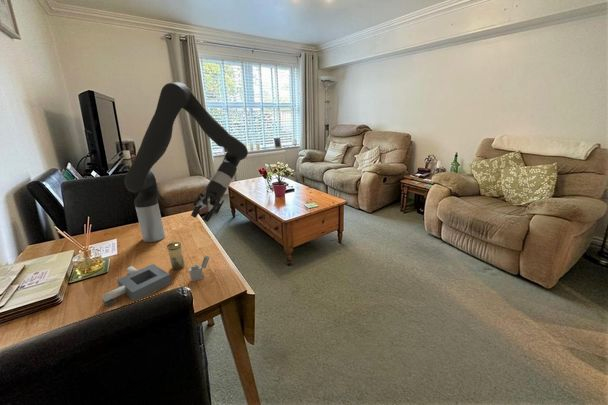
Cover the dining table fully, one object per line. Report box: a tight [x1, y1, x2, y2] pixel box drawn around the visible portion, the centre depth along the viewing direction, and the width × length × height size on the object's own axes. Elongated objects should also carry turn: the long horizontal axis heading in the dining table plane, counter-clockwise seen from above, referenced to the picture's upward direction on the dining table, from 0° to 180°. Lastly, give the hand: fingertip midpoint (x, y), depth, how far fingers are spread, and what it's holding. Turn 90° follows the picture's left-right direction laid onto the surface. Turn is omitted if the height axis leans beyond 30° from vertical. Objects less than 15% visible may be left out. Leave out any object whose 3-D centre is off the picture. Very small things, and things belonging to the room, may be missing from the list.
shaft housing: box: [101, 263, 172, 307], centre depth 91 cm, size 17×18×4 cm
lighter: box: [188, 255, 210, 282], centre depth 95 cm, size 7×2×8 cm, turn 115°
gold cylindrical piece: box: [166, 241, 185, 271], centre depth 102 cm, size 5×5×10 cm
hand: (199, 218), depth 107 cm, fingers open, 8 cm apart
